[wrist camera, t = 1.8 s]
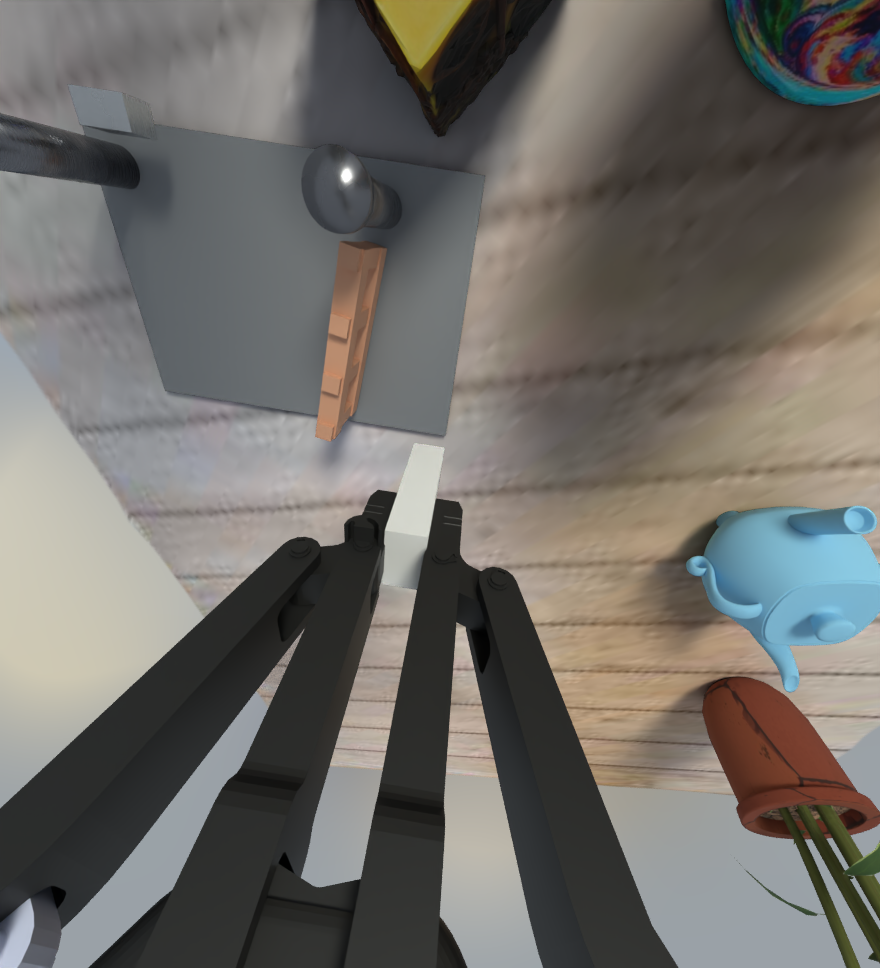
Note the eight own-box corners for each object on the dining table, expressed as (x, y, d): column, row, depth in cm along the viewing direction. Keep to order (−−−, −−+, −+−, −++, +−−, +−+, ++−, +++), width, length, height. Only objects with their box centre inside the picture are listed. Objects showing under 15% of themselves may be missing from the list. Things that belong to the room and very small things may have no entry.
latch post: (88, 103, 24) (-146, 21, 15) (183, 117, 24) (5, 44, 15) (115, 193, 27) (-71, 169, 18) (201, 207, 26) (58, 190, 18)
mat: (86, 115, 24) (78, 112, 24) (485, 176, 24) (485, 175, 24) (169, 388, 35) (165, 390, 34) (445, 433, 35) (445, 435, 34)
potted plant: (791, 700, 54) (1153, 1236, 25) (678, 717, 59) (864, 1170, 31) (775, 636, 46) (1265, 1295, 17) (647, 663, 52) (855, 1192, 23)
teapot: (862, 540, 37) (990, 641, 28) (726, 601, 44) (793, 699, 34) (789, 451, 33) (912, 535, 23) (650, 534, 39) (702, 625, 30)
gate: (367, 240, 26) (336, 240, 20) (387, 248, 26) (362, 250, 21) (340, 404, 33) (313, 436, 28) (356, 409, 33) (332, 442, 28)
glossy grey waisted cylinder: (364, 175, 25) (298, 138, 16) (411, 183, 25) (371, 150, 16) (364, 232, 26) (304, 228, 17) (407, 239, 26) (369, 238, 17)
